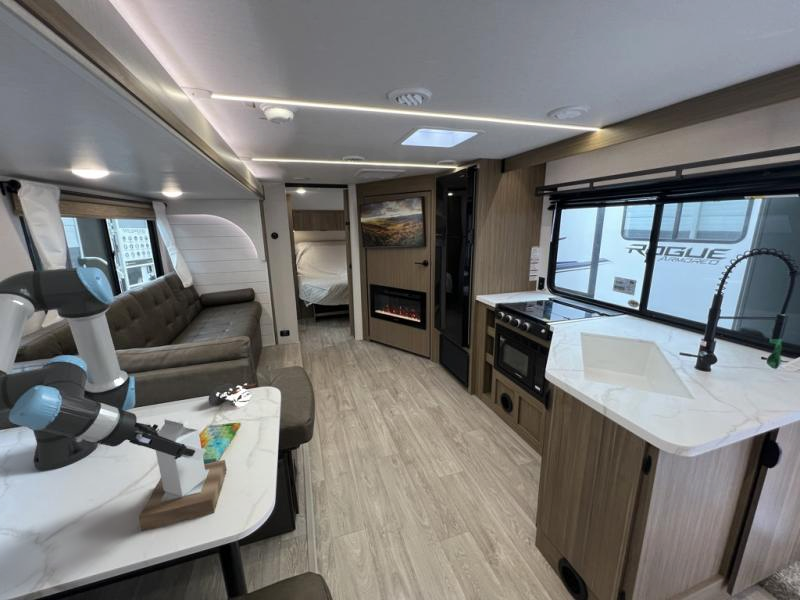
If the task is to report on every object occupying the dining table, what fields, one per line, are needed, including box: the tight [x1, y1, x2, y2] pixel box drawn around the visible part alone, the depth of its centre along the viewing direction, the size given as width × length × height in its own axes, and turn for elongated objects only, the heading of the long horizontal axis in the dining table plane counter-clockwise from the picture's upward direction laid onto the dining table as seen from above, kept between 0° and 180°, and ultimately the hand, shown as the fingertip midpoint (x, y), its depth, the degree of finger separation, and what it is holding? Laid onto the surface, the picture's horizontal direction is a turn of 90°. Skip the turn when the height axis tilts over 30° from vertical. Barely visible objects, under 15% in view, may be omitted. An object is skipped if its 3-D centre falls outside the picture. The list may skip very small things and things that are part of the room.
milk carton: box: [155, 418, 206, 497], centre depth 86 cm, size 7×7×19 cm
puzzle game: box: [199, 422, 242, 464], centre depth 109 cm, size 12×5×20 cm
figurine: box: [208, 382, 256, 407], centre depth 140 cm, size 14×10×18 cm
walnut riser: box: [137, 459, 228, 532], centre depth 89 cm, size 16×16×4 cm
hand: (189, 447), depth 88 cm, fingers open, 13 cm apart
